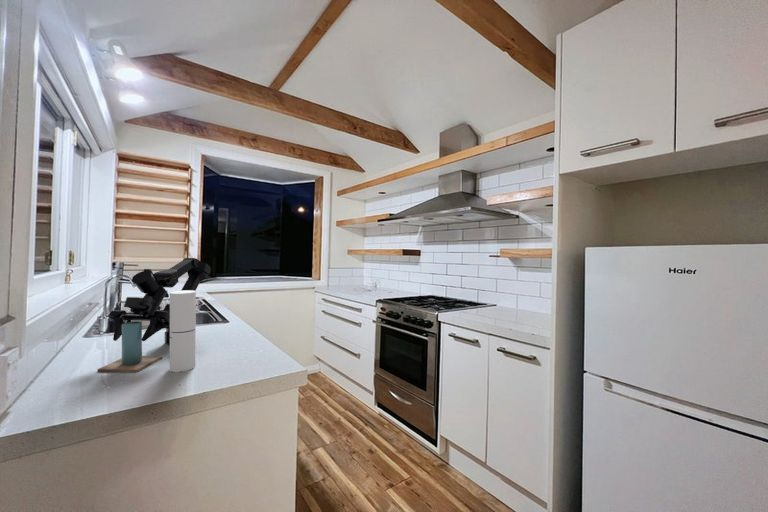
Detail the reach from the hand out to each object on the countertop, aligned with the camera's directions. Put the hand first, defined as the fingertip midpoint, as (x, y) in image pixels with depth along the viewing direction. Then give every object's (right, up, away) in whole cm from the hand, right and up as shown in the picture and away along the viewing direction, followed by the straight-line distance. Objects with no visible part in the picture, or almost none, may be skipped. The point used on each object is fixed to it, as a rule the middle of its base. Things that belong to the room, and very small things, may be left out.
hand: (128, 340), depth 103 cm
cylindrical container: (+17, -9, 0) cm, 20 cm away
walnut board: (0, -9, +2) cm, 9 cm away
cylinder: (0, -8, +2) cm, 8 cm away
